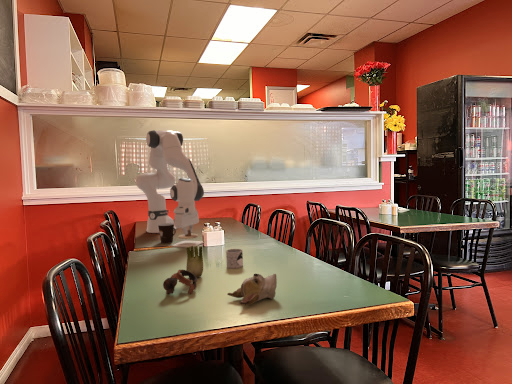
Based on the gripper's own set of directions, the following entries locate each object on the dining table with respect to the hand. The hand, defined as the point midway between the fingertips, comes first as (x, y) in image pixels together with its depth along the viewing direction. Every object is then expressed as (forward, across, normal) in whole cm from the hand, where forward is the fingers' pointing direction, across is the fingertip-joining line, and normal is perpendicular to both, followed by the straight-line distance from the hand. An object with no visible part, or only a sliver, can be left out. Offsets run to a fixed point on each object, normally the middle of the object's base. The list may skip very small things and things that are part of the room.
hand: (188, 233), depth 197 cm
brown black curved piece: (+6, +69, +35) cm, 78 cm away
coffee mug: (+6, -3, -15) cm, 16 cm away
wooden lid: (+2, 0, 0) cm, 2 cm away
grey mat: (+6, 0, 0) cm, 6 cm away
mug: (+6, +34, +41) cm, 53 cm away
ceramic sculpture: (+7, +70, +62) cm, 94 cm away
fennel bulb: (+6, +53, +32) cm, 62 cm away
